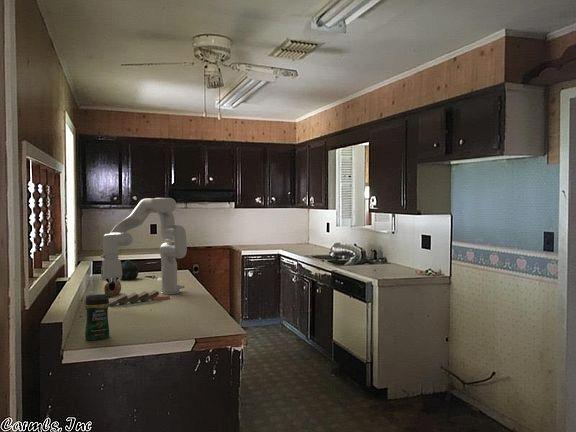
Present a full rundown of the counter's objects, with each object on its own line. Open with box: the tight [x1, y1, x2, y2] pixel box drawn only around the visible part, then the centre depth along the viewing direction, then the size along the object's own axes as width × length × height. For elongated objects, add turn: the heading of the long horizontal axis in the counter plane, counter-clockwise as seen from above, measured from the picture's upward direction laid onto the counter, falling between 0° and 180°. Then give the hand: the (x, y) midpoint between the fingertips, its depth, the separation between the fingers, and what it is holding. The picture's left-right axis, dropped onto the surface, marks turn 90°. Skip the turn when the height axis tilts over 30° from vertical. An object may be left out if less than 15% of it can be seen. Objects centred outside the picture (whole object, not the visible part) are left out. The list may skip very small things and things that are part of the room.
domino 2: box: [119, 292, 139, 305], centre depth 272 cm, size 2×5×10 cm
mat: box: [108, 299, 160, 310], centre depth 271 cm, size 32×12×1 cm, turn 129°
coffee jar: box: [84, 293, 110, 341], centre depth 207 cm, size 10×8×19 cm
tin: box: [103, 280, 122, 298], centre depth 297 cm, size 15×3×8 cm, turn 168°
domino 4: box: [140, 289, 160, 302], centre depth 279 cm, size 2×5×10 cm
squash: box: [120, 259, 139, 281], centre depth 354 cm, size 14×15×15 cm
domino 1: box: [109, 293, 128, 307], centre depth 268 cm, size 2×5×10 cm
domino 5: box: [150, 294, 171, 301], centre depth 284 cm, size 2×5×10 cm
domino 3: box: [130, 291, 149, 304], centre depth 276 cm, size 2×5×10 cm
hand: (112, 290), depth 266 cm, fingers closed
